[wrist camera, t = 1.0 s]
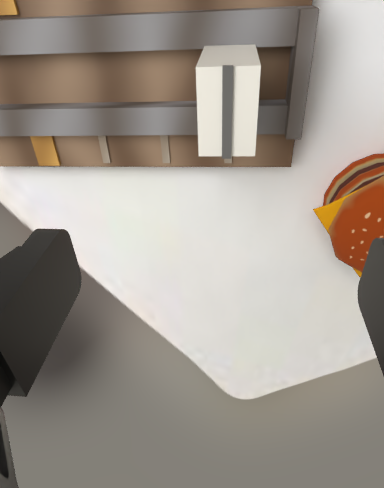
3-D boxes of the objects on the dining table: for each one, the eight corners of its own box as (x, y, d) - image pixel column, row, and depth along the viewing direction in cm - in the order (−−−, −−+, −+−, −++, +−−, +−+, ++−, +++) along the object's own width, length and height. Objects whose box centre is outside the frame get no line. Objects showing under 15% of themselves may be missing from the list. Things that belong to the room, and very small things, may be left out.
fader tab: (253, 36, 24) (261, 65, 16) (249, 106, 26) (255, 158, 19) (207, 37, 24) (195, 66, 17) (208, 107, 27) (198, 158, 19)
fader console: (314, -60, 22) (329, -66, 19) (288, 156, 31) (295, 181, 27) (-77, -37, 25) (-129, -38, 21) (-3, 157, 33) (-32, 179, 30)
